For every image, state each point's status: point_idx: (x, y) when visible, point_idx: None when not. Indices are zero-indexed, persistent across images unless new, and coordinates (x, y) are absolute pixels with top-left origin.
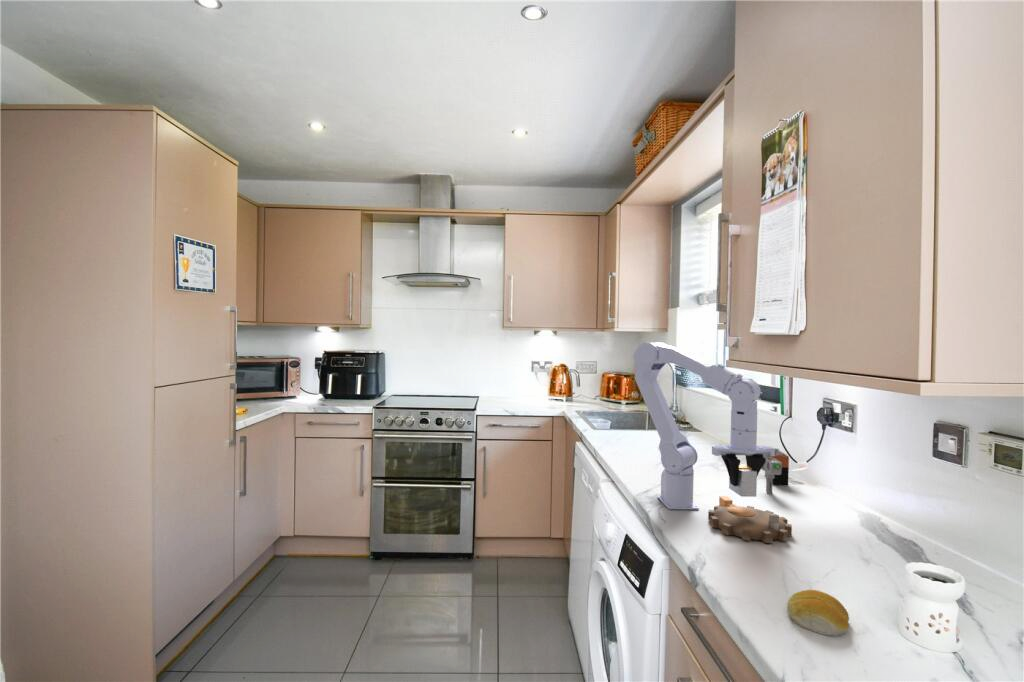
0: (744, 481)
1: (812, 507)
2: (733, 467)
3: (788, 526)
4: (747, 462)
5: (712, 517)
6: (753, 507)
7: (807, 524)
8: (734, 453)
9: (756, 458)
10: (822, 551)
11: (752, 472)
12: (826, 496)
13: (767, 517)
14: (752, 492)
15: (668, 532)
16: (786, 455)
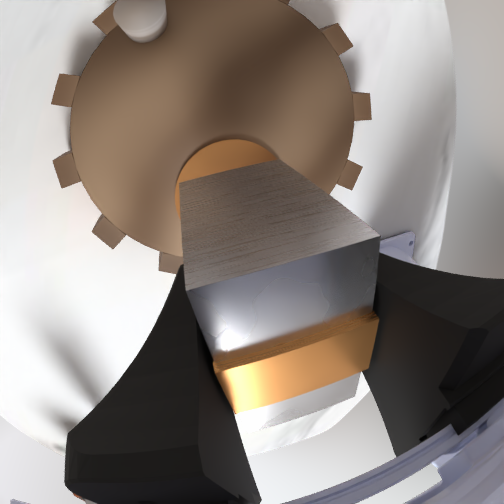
0: (299, 197)
1: (12, 358)
2: (441, 276)
3: (70, 75)
4: (240, 443)
5: (368, 107)
6: (162, 264)
7: (6, 234)
8: (462, 435)
9: (212, 481)
10: (27, 4)
11: (244, 265)
12: (8, 407)
13: (128, 157)
14: (208, 184)
15: (453, 73)
16: (77, 497)
